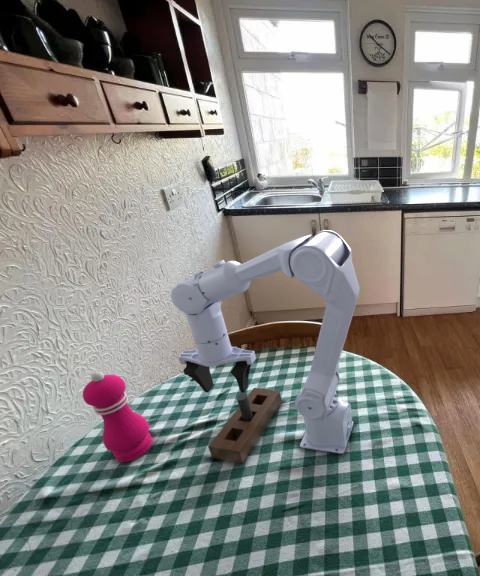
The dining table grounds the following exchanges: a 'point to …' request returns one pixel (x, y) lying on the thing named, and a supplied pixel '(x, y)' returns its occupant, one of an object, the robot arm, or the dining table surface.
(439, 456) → the dining table surface
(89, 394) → the pepper mill
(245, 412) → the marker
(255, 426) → the holder
